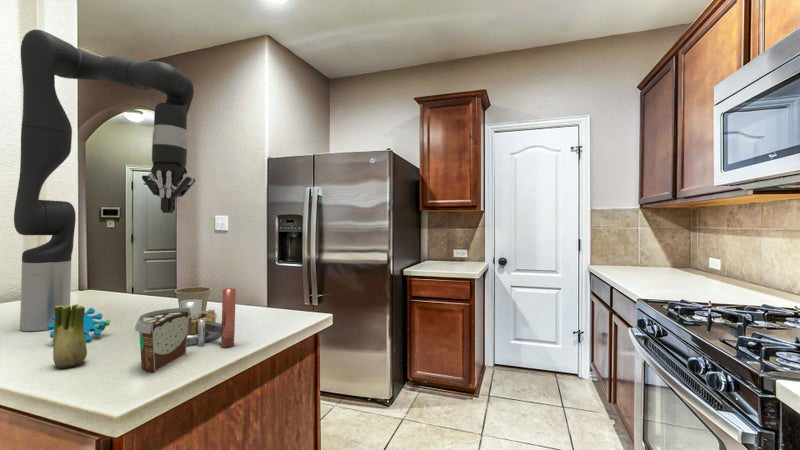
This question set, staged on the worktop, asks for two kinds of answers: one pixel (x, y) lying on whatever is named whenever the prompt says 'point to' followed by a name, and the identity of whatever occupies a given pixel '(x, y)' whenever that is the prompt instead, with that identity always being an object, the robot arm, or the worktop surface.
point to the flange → (202, 336)
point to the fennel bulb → (69, 336)
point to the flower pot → (194, 295)
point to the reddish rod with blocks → (227, 319)
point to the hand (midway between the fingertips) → (167, 212)
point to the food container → (162, 337)
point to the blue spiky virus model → (87, 324)
